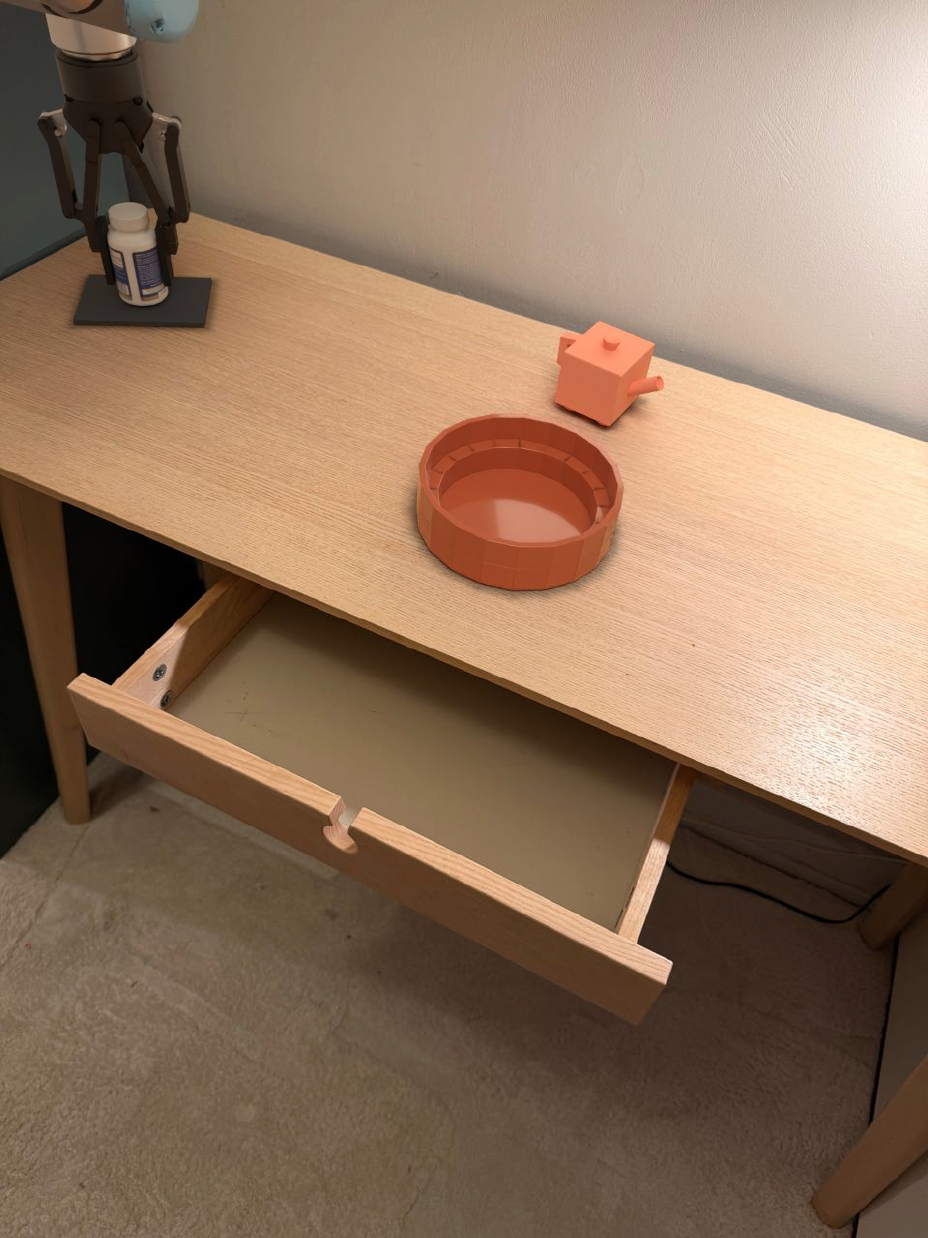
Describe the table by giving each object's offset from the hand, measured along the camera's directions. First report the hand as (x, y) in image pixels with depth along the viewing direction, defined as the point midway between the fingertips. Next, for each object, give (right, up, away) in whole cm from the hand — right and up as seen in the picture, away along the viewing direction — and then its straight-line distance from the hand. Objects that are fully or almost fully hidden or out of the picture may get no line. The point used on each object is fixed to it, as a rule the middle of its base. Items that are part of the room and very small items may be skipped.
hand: (141, 279), depth 102 cm
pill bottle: (0, -1, +2) cm, 2 cm away
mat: (0, -2, +2) cm, 3 cm away
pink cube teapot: (+51, -15, -4) cm, 54 cm away
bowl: (+41, -29, -17) cm, 53 cm away
